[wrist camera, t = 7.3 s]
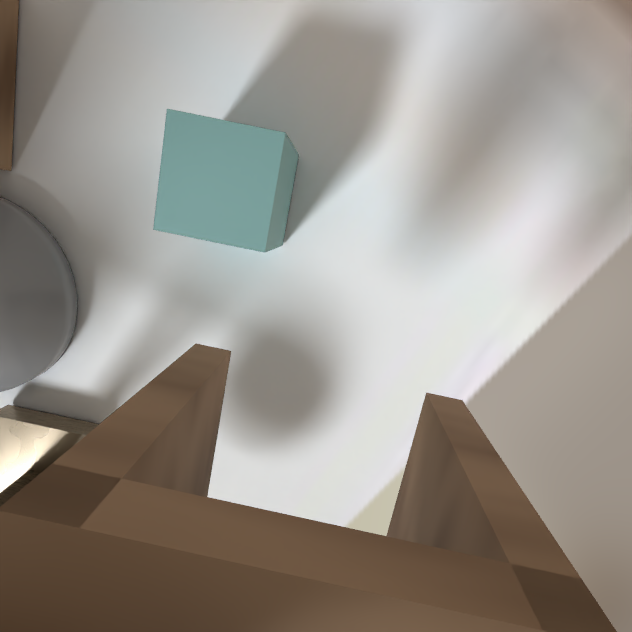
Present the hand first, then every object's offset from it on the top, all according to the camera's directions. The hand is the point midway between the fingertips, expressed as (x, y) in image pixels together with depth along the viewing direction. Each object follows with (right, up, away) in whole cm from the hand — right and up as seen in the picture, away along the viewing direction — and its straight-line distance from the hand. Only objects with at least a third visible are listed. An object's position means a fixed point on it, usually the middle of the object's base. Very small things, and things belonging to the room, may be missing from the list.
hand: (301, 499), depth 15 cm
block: (-3, +13, +9) cm, 17 cm away
